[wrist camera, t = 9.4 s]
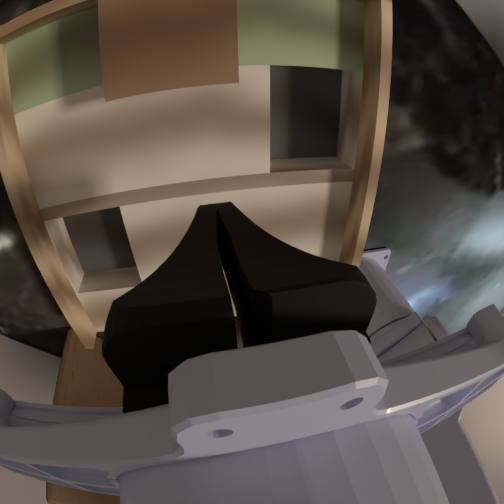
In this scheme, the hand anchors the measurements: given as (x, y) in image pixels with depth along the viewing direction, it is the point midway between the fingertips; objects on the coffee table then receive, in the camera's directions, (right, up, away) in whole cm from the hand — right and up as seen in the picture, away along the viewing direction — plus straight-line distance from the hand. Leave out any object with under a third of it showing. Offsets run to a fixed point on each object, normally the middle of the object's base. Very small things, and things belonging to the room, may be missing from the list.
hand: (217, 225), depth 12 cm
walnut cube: (-3, +11, +1) cm, 11 cm away
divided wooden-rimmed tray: (-3, +5, +9) cm, 10 cm away
